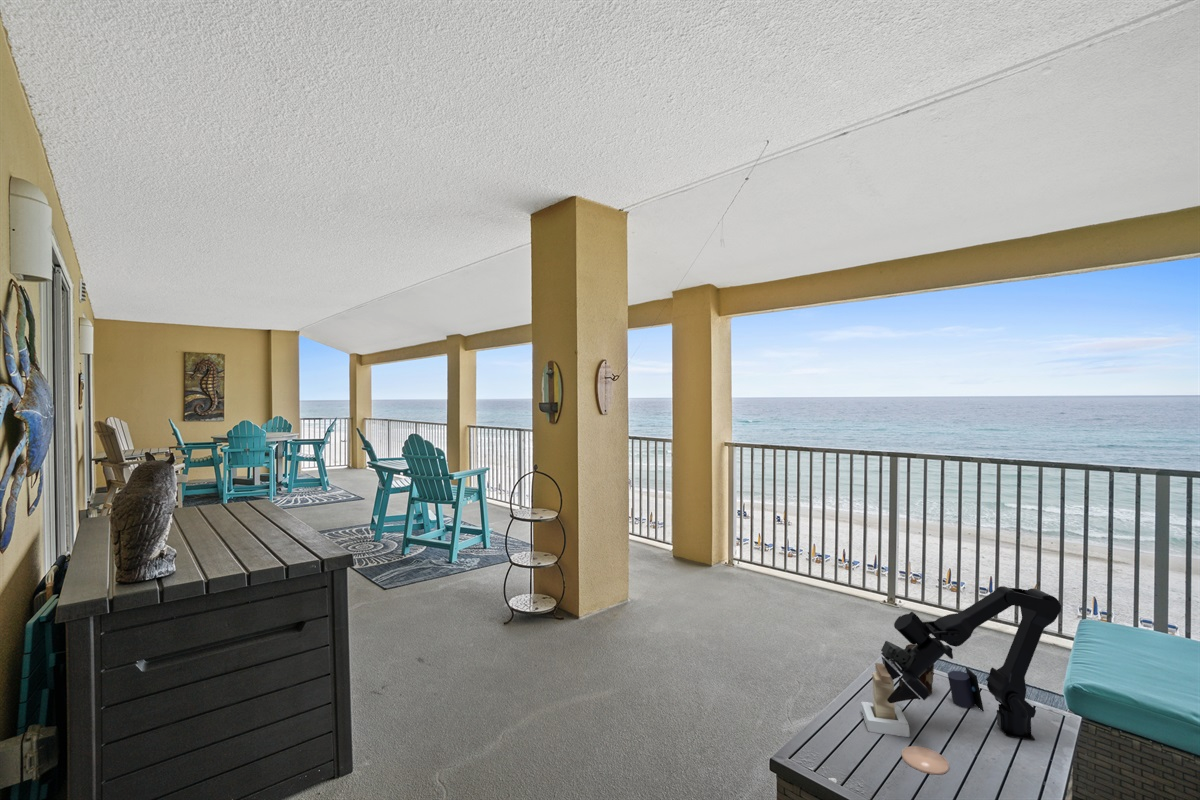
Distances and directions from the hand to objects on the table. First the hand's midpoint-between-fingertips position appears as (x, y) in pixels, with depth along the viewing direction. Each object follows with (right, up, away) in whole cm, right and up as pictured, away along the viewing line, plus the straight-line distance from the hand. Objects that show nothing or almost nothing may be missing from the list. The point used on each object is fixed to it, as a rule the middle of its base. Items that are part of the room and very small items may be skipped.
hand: (882, 693), depth 148 cm
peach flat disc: (+2, -8, -16) cm, 18 cm away
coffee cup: (+21, -9, +17) cm, 29 cm away
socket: (0, -8, 0) cm, 8 cm away
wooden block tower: (0, -8, 0) cm, 8 cm away
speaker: (+29, -9, +9) cm, 32 cm away
